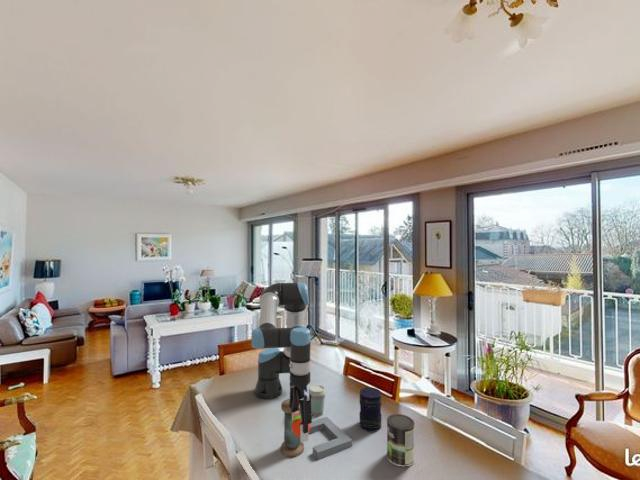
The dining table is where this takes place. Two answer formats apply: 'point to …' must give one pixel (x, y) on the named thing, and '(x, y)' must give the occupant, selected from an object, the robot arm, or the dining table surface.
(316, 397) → the coffee cup
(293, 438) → the bobbin
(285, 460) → the dining table surface
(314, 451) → the notched board
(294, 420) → the clementine
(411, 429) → the coffee can
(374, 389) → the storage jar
